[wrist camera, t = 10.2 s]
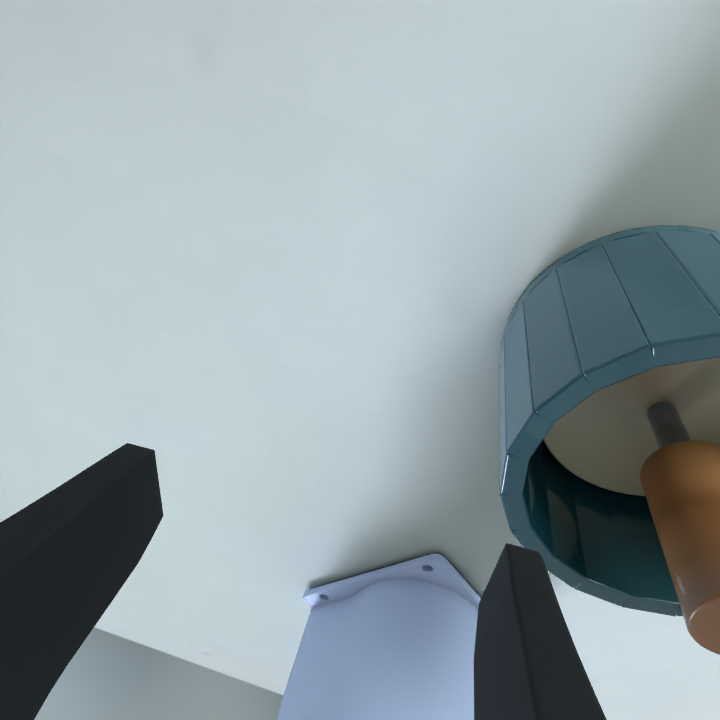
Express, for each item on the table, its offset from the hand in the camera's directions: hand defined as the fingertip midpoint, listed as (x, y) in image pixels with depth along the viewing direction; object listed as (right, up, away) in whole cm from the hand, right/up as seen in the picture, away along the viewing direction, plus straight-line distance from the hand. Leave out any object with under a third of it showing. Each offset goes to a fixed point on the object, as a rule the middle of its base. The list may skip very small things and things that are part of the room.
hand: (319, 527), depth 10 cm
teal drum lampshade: (+10, +4, +8) cm, 13 cm away
